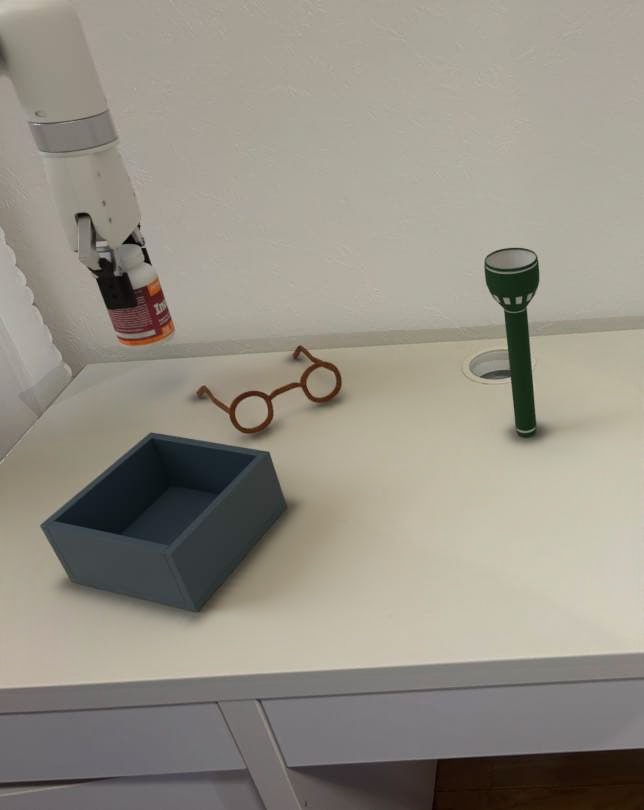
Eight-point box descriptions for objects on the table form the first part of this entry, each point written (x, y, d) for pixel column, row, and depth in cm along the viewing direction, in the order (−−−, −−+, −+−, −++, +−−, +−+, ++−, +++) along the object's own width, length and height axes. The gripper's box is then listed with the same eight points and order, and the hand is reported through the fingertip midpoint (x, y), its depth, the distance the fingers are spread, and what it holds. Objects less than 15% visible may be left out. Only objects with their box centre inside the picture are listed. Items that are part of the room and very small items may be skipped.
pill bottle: (178, 344, 92) (149, 256, 86) (121, 357, 90) (86, 267, 84) (175, 322, 97) (146, 237, 91) (120, 334, 95) (87, 247, 89)
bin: (71, 582, 71) (39, 525, 67) (173, 485, 81) (150, 431, 77) (197, 612, 67) (171, 554, 63) (287, 507, 77) (269, 451, 73)
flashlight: (547, 416, 87) (534, 244, 76) (553, 443, 83) (541, 266, 72) (500, 421, 87) (481, 250, 76) (504, 449, 83) (485, 272, 71)
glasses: (240, 443, 87) (227, 405, 84) (196, 396, 95) (183, 360, 92) (347, 395, 93) (338, 358, 90) (297, 355, 102) (288, 321, 99)
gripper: (68, 115, 88) (122, 266, 98) (-2, 160, 73) (70, 333, 83) (138, 110, 88) (185, 261, 98) (83, 154, 74) (144, 326, 84)
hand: (132, 292), depth 91 cm, fingers closed on pill bottle, 6 cm apart
